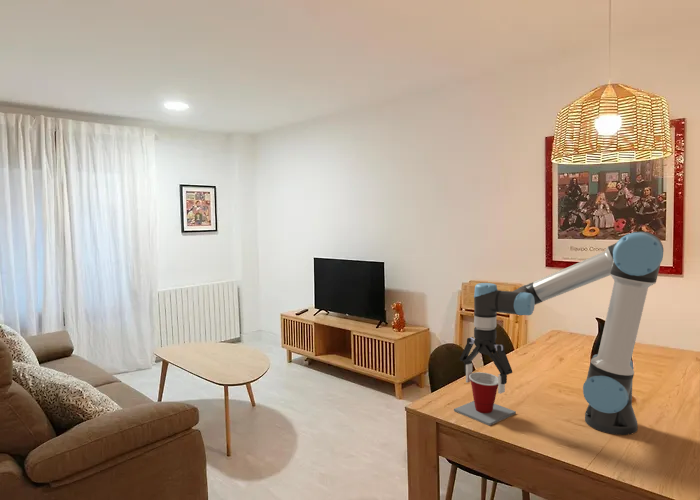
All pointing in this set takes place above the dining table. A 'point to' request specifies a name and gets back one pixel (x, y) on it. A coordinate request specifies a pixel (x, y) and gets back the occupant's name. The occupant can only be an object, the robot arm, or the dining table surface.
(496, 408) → the rest mat
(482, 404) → the plastic cup
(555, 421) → the dining table surface
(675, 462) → the dining table surface
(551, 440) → the dining table surface
